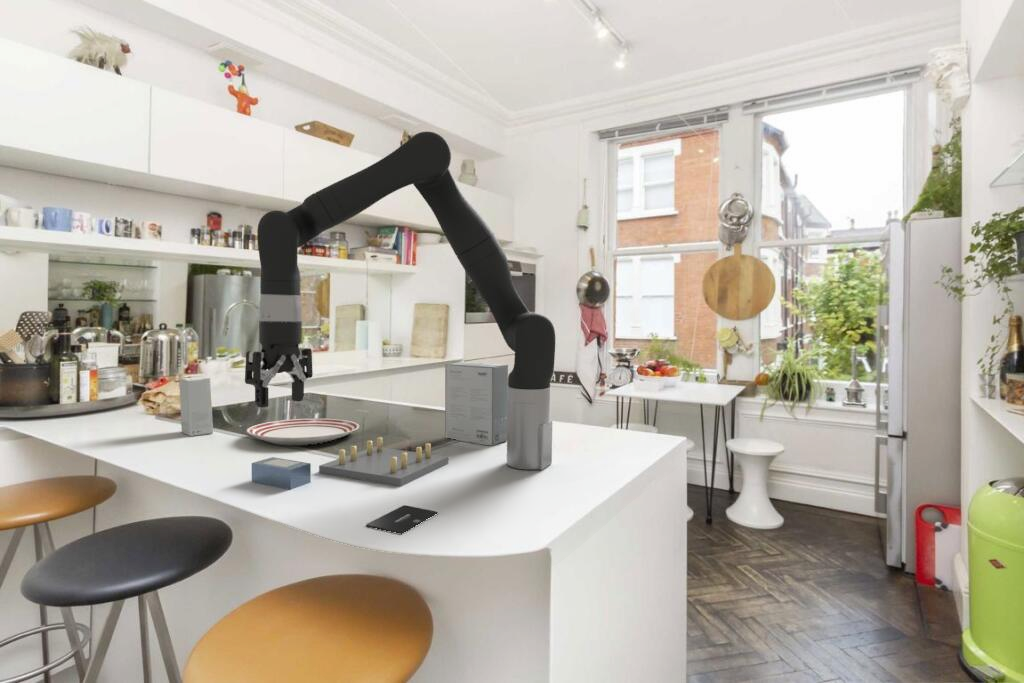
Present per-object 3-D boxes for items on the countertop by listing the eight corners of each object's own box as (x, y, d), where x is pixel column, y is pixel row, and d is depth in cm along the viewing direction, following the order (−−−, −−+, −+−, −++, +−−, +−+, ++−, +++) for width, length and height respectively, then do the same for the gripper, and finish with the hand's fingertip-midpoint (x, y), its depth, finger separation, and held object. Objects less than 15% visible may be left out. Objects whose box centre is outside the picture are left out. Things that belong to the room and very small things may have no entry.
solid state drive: (438, 515, 92) (438, 511, 92) (401, 537, 83) (401, 532, 83) (404, 508, 95) (404, 504, 95) (364, 528, 86) (364, 524, 86)
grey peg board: (448, 463, 122) (448, 443, 122) (400, 486, 106) (401, 463, 105) (374, 453, 130) (374, 433, 130) (319, 472, 114) (319, 451, 113)
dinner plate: (284, 425, 160) (284, 414, 160) (374, 429, 157) (374, 418, 156) (222, 448, 133) (222, 434, 133) (329, 454, 129) (329, 440, 129)
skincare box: (213, 433, 147) (212, 378, 146) (187, 437, 143) (187, 379, 142) (204, 428, 153) (203, 375, 152) (179, 431, 149) (178, 376, 148)
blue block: (310, 483, 107) (310, 463, 107) (290, 491, 103) (290, 469, 102) (272, 476, 111) (272, 456, 111) (251, 483, 107) (251, 462, 107)
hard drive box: (508, 441, 144) (509, 364, 143) (492, 447, 138) (493, 367, 137) (461, 433, 153) (462, 361, 152) (443, 438, 146) (444, 363, 145)
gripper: (265, 319, 97) (265, 411, 98) (322, 319, 110) (322, 400, 111) (234, 318, 100) (234, 407, 101) (294, 318, 113) (293, 397, 114)
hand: (280, 403), depth 106 cm, fingers open, 8 cm apart
